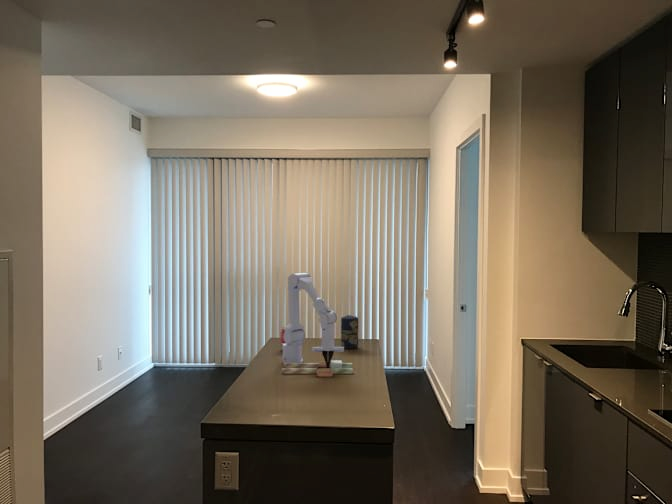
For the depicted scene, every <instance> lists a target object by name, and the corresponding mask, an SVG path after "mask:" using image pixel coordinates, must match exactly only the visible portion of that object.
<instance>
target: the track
mask: <svg viewBox="0 0 672 504" xmlns="http://www.w3.org/2000/svg"><path fill="white" fill-rule="evenodd" d="M318 368H319V367H318V362H302V363H283V368H281V374H283V375H284V374H286V375H287V374H295V375H296V374H297V375H298V374H303V375H304V374H307V375H308V374H311V375H312V374H313V375H315V374H316V375H317V370H318ZM334 374H347V375H348V374H350V375H351V374H354V369H353V362H342V368H333V375H334Z"/></svg>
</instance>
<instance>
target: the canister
mask: <svg viewBox="0 0 672 504" xmlns="http://www.w3.org/2000/svg"><path fill="white" fill-rule="evenodd" d="M340 322H341V323H340V339H341V340H340V343H341V344H340V347H344V349H355V348H358V347H359V317H358V316H354V315H350V314H348V315H346V316H342V317H341V318H340Z"/></svg>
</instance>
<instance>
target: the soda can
mask: <svg viewBox="0 0 672 504" xmlns="http://www.w3.org/2000/svg"><path fill="white" fill-rule="evenodd" d="M285 327H286V326H285ZM285 327H281V330H280V336H279V337H280V343H279V344H280V350H282V351H283V344H285V343H286V342H285V341H284V332H285Z"/></svg>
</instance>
